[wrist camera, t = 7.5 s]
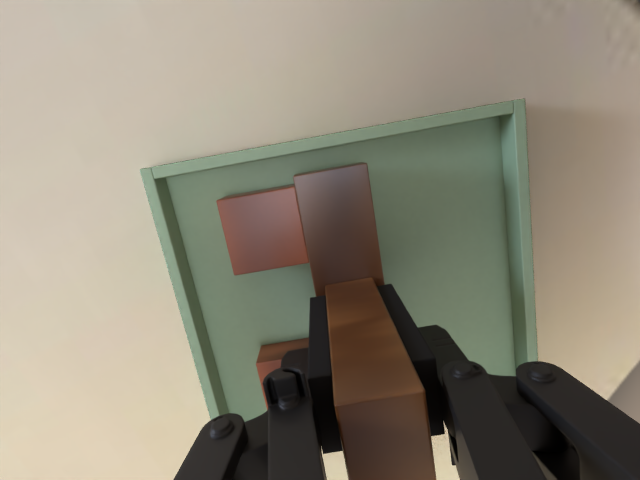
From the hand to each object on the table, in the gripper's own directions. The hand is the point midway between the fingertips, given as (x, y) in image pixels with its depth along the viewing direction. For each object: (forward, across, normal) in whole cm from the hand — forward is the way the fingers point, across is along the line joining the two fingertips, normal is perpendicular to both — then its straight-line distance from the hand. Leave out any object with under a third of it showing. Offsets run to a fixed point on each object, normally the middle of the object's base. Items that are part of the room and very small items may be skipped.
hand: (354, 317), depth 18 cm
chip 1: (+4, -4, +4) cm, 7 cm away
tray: (+4, 0, 0) cm, 4 cm away
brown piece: (+4, 0, 0) cm, 4 cm away
